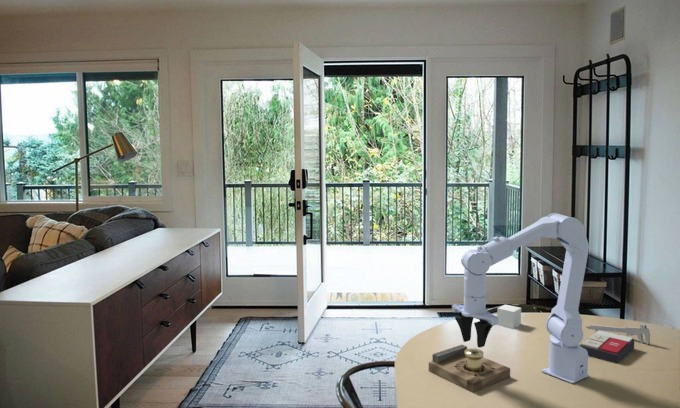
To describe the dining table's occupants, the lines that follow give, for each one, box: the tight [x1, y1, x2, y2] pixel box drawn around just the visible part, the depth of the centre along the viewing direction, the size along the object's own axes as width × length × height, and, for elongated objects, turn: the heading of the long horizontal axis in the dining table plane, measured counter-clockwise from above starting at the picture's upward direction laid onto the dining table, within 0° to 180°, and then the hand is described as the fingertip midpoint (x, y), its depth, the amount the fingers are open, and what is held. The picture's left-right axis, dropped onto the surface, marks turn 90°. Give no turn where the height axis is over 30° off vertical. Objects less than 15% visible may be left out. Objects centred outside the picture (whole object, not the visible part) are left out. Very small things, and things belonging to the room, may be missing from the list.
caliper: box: [585, 324, 651, 346], centre depth 174 cm, size 20×1×6 cm, turn 36°
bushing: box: [464, 347, 484, 372], centre depth 145 cm, size 5×5×7 cm
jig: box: [428, 344, 511, 393], centre depth 147 cm, size 16×15×4 cm
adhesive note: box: [496, 304, 522, 329], centre depth 186 cm, size 6×6×6 cm
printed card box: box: [579, 330, 635, 364], centre depth 162 cm, size 11×4×15 cm
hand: (473, 343), depth 144 cm, fingers open, 4 cm apart
